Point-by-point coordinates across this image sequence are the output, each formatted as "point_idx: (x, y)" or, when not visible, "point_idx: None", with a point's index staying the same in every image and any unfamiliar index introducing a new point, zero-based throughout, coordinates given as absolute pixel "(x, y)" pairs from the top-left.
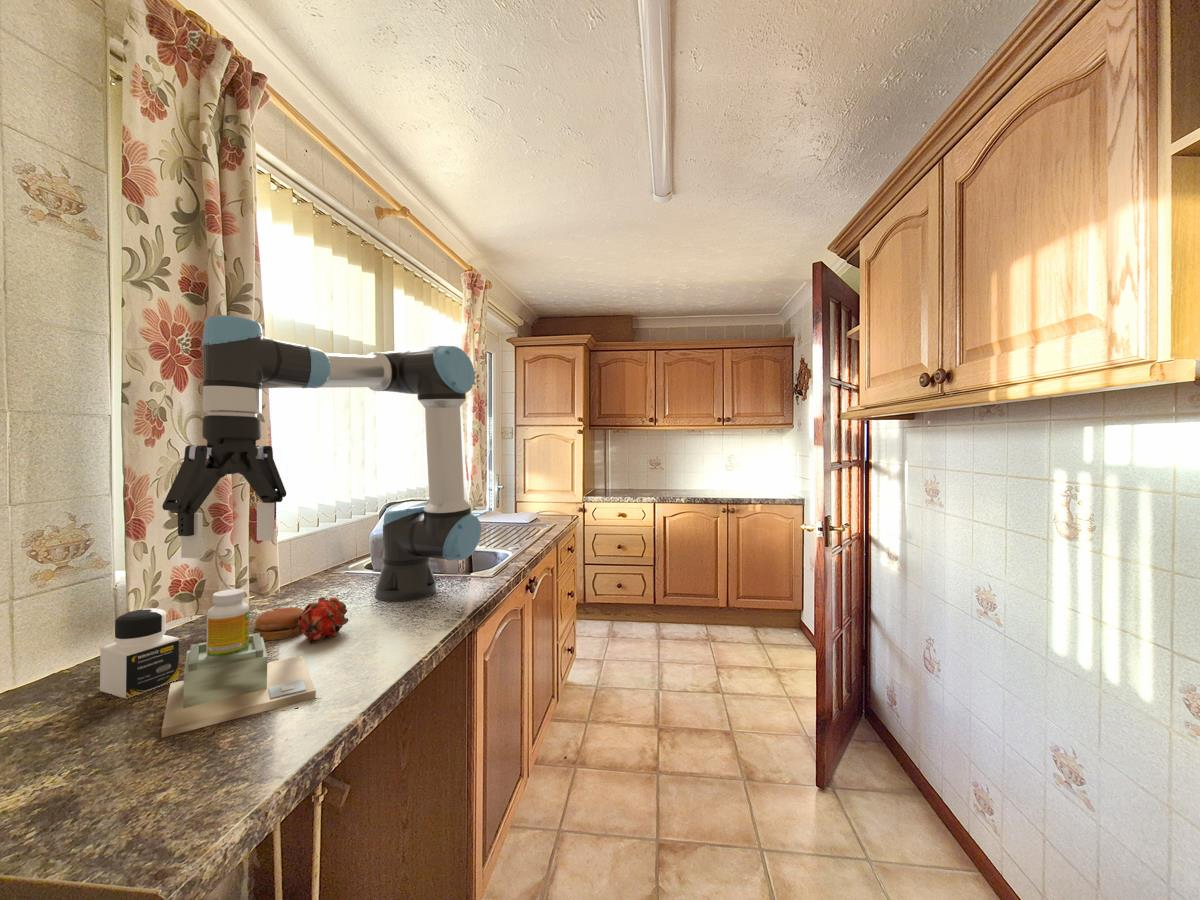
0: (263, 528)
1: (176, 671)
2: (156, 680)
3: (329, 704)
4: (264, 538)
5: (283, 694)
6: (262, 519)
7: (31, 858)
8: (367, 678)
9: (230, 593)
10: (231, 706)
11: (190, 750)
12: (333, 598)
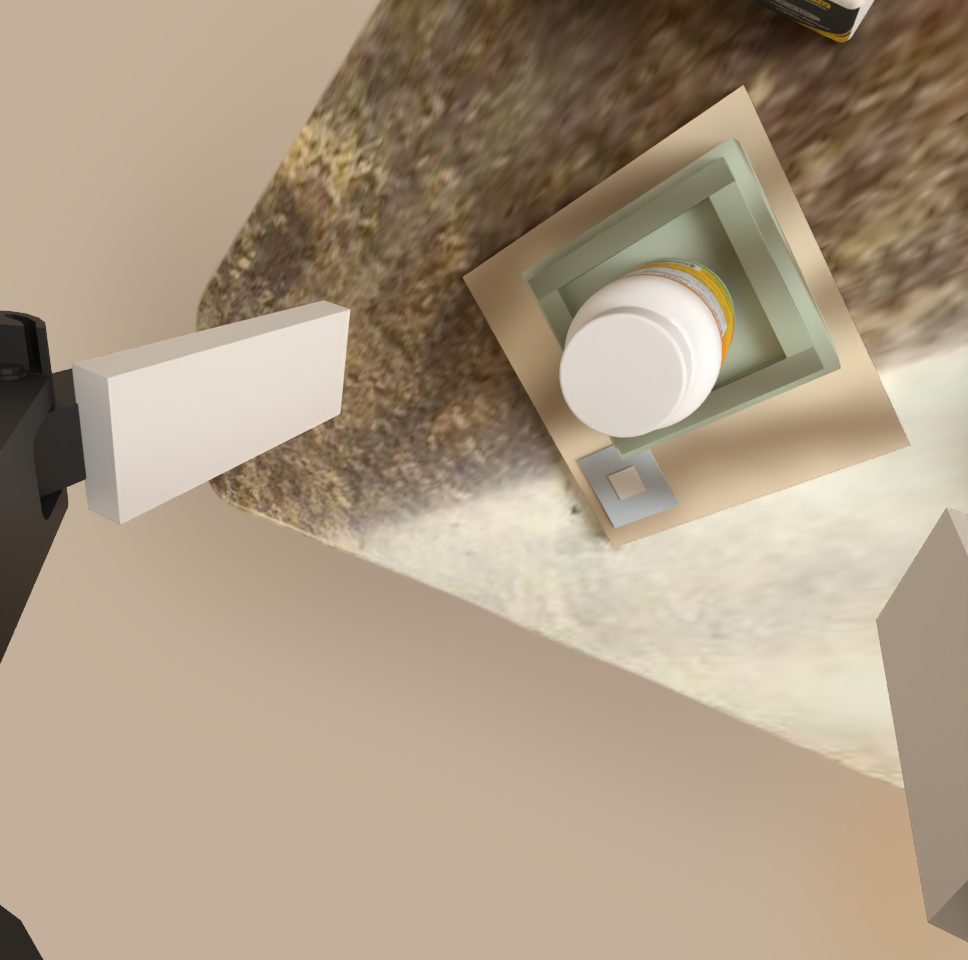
0: (930, 625)
1: (836, 35)
2: (774, 7)
3: (582, 572)
4: (910, 581)
5: (593, 484)
6: (953, 675)
7: (215, 307)
8: (713, 635)
9: (597, 396)
10: (552, 382)
11: (427, 367)
12: None
